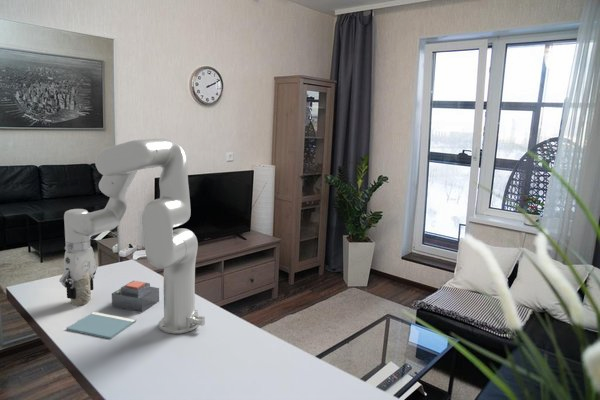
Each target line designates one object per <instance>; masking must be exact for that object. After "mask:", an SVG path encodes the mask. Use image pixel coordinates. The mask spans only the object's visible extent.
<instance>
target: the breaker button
mask: <svg viewBox="0 0 600 400" xmlns="http://www.w3.org/2000/svg"><path fill="white" fill-rule="evenodd" d="M132 281H133V282H132ZM132 281H130V282H131V283H130V282H128V283H129V284H128V283H127V284H128V285H126V284H125V285H126V287H128V288H133V289H139V288H140V287H142V286H144V285H145V283H146V282H145V283H144V281H139V282H138V280H132Z"/></svg>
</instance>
